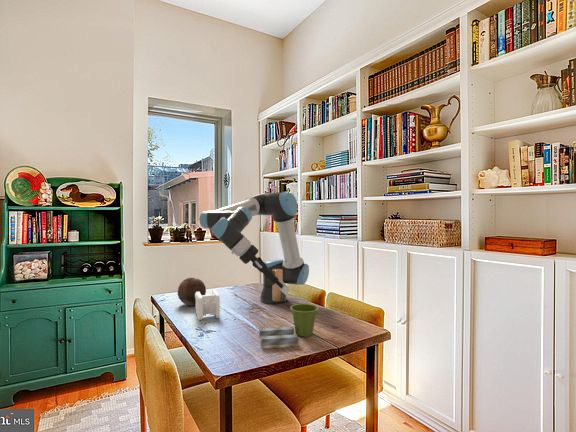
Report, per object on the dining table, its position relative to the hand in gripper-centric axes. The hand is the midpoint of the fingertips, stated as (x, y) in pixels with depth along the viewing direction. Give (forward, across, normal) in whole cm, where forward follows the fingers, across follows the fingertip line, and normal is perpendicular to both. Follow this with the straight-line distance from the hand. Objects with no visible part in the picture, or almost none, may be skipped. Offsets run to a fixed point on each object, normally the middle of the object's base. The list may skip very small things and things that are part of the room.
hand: (287, 290), depth 138 cm
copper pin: (0, 0, -5) cm, 5 cm away
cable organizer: (-10, -38, -38) cm, 55 cm away
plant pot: (+20, -6, -8) cm, 23 cm away
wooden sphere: (-17, -60, -46) cm, 77 cm away
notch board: (+11, 0, -17) cm, 20 cm away
